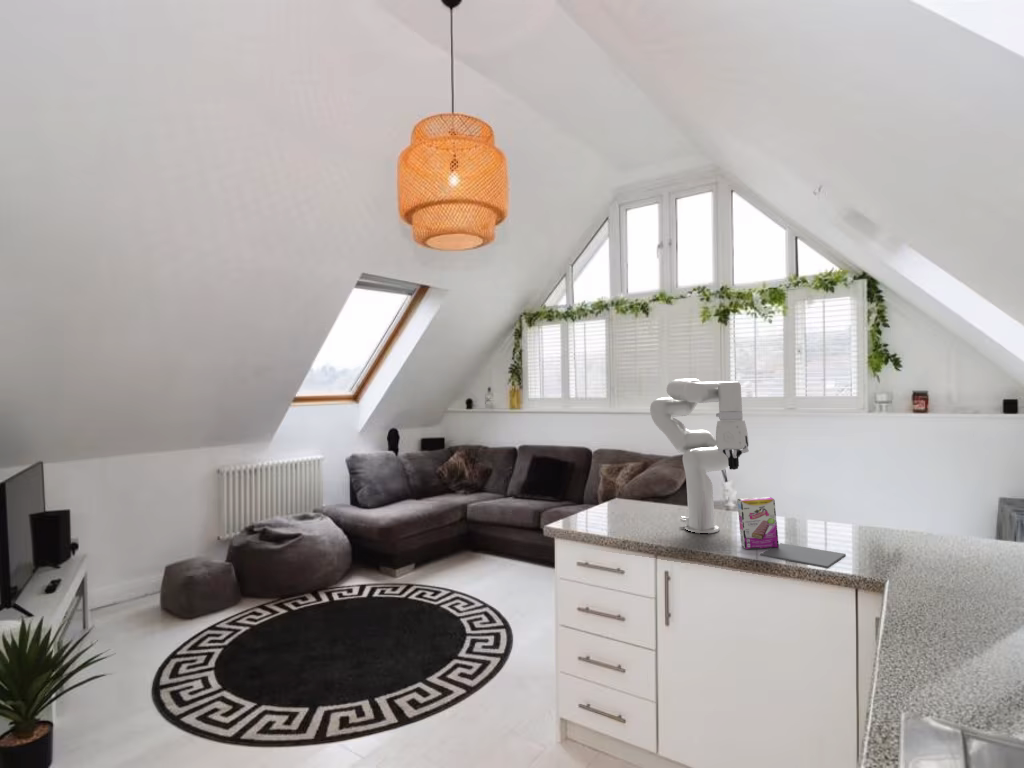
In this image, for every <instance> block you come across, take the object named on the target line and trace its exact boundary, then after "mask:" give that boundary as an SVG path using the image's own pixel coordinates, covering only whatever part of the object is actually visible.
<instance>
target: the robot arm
mask: <svg viewBox="0 0 1024 768" xmlns="http://www.w3.org/2000/svg"><path fill="white" fill-rule="evenodd" d="M741 385H742V384H741V383H740V382H739V381H736V380H733V381H732V380H730V381H726V380H725V381H724V380H717V381H715V380H714V381H701V380H700V379H697V378H694V377H693V378H676V379H673V380H671V381H670V382H668V384H667V386H666V394H667V395H668V396H664V397H663V396H662V397H659V398H656V399H654V400H653V401H652V402H651V403H650V406H649V407H650V409H649V412H650V416H651V419H652V422H653V423H654V425H655V426H656V427H657V428H658V429H659V430H660V431H661V432H662V433H663V434H664V435H665V436H666V437H667V439H668V441H669V442H670V443H671V445H672V446H673V447H674V448H675V449H676V451H677V452H678V453H680V454H681V455H682V465H683V469H684V475H685V481H686V495H687V498H686V499H687V500H686V501H687V516H683V515H681V516H680V520H679V522H681V523H685V525H684V530H685V529H686V530H688V531H691V532H690V533H692V532H695V533H694V534H700V533H708V534H715V533H718V532H719V531H720V526H719V525H717V524H715V508H714V505H715V504H714V489H713V488H714V487H713V486H714V485H713V482H712V480H711V478H710V477H709V476H708V474H707V473H710V472H721V471H723V470H726V469H727V468H728V467H729V470H738V469H739V467H740V465H739V463H740V462H739V460H740V459H739V458H740V457H741V456H742V455H743V454H746V453H749V436H748V429H747V425H746V421H745V420H744V418H743V402H742V387H741ZM706 403H718V413H716V414H715V417H716V418H718V419H719V420H717V421H716V428H715V436H714V435H713V433H711V432H710V431H709V430H705V429H688V428H687V427H686V425H684V423H683V422H682V421H680V420H678V419H677V417H687V416H689V415H691V414H692V413H693V411H694V410H695V408H696V406H697V405H698V404H706ZM686 530H685V531H686ZM688 531H687V532H688Z"/></svg>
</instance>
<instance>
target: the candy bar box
mask: <svg viewBox="0 0 1024 768" xmlns="http://www.w3.org/2000/svg"><path fill="white" fill-rule="evenodd" d="M736 500H737V501H736V502H737V511H738V512H737V513H738V525H739V533H740V545H741V547H742V548H743V549H745V550H751V549H752V550H755V549H771V548H777V547H779V544H780V542H779V535H778V523H777V522H778V521H777V513H776V503H775V498H773V497H771V496H762V497H742V498H737V499H736Z"/></svg>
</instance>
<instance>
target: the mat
mask: <svg viewBox="0 0 1024 768" xmlns="http://www.w3.org/2000/svg"><path fill="white" fill-rule="evenodd" d="M759 555H760V556H761V557H766V558H767V557H768V558H771V559H777V560H783V561H790V562H794V563H799V564H804V565H809V564H810V565H811V566H815V567H820V568H826V569H828V568H829V567H831V566H833V565H834V564H836V563H837V562H839V561H840V560H841V559H842V558H844V557H845V556H846V553H843V552H838V551H837V552H836V551H830V550H825V549H819V548H812V547H805V546H801V545H800V546H799V545H794V544H787V543H783V542H779V547H777V548H768V549H767V550H765V551H763V552H761V553H760V554H759Z"/></svg>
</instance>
